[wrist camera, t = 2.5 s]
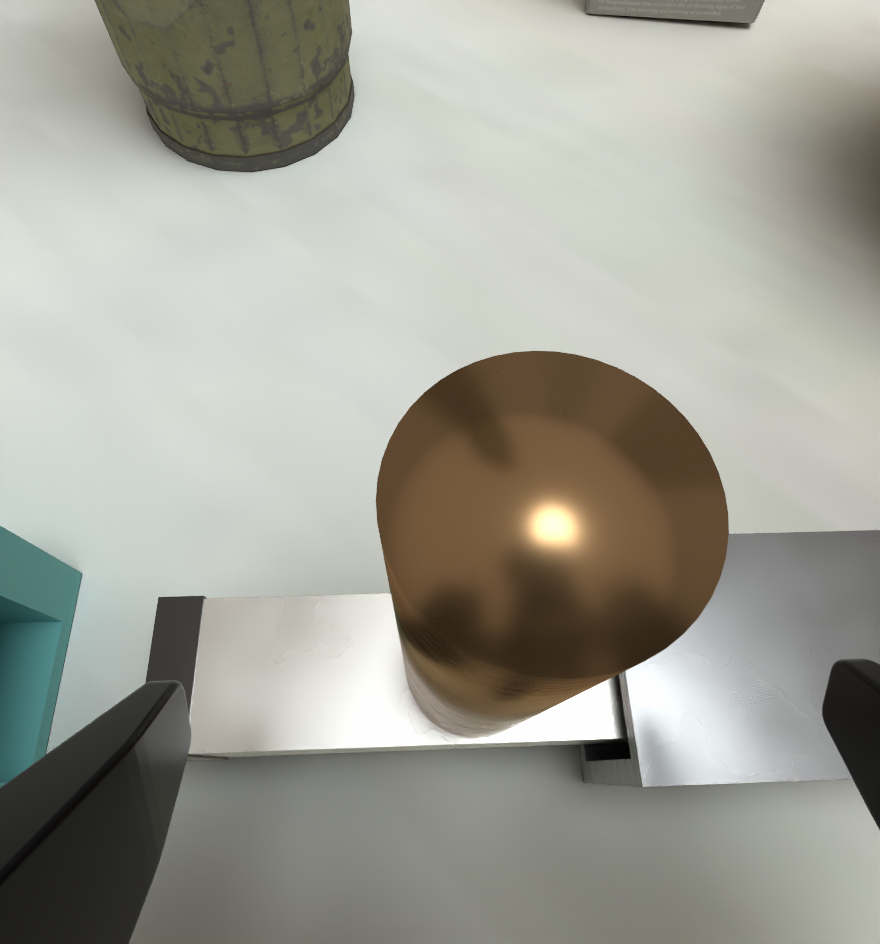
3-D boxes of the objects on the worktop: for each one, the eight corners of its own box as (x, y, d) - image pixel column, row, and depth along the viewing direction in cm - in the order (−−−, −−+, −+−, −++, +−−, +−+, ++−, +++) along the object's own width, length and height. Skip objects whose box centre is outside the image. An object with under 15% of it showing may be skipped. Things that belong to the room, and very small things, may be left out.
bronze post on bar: (994, 603, 18) (1963, 316, 7) (1044, 729, 17) (2372, 637, 5) (204, 627, 17) (-219, 349, 6) (188, 760, 16) (-402, 733, 5)
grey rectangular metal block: (1024, 580, 19) (1207, 521, 15) (1102, 762, 17) (1343, 759, 13) (562, 593, 19) (605, 537, 14) (584, 782, 17) (642, 786, 12)
